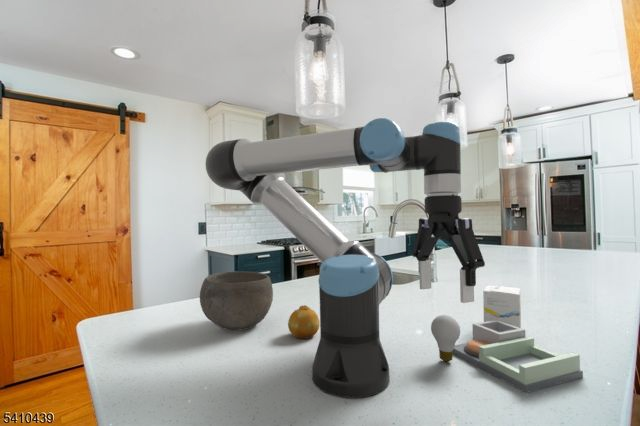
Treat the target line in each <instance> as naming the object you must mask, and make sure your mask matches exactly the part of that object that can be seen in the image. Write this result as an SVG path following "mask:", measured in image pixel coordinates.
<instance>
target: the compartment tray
mask: <svg viewBox="0 0 640 426" xmlns="http://www.w3.org/2000/svg"><path fill="white" fill-rule="evenodd" d="M472 340H481V341H486V342H489V343H491V344H488V345H483V346H479V354H476V353H473V352H471V351H469V350H468V349H467V342H465V343H460V344H455V345H454V349H453V355H455V356H456V357H457V356H458V357H459V358H461V359H463V360H465V361H467V362H469V363H471V365H474V366H476V367H478V368H480V369H481V370H483V371H485V372H487V373H489V374H491V375H493V376H495V377H497V378H498V379H500V380H502V381H503V382H506V383H507V384H509V385H511V386H513V387H515V388H517V389H518V390H520V391H522V392H523V393H530V392H533V391H537V390H542V389H545V388H550V387H553V386H557V385H559V384H563V383H567V382H570V381H575V380H578V379H582V378H584V372H583V370H581V359H580V358H581V357H580V354H579V353H578V354H577V353H575V352H571V353H565V354H562V355H560V354H557V353H556V352H553V351H550V350H547V349H544V348H542V347H540V346H537V345H535V338H534V337H532V336H526V329H523V328H522V327H521V328H519V327H516V326H513V325H510V324H507V323H504V322H501V321H498V320H493V321H487V322H484V321H481V322H477V323H476V322H475V323H472Z"/></svg>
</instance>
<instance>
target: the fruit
mask: <svg viewBox="0 0 640 426" xmlns="http://www.w3.org/2000/svg"><path fill="white" fill-rule="evenodd" d="M287 327H288V330H289V333H291V335H292V336H294V337H295V338H298V339H310V338H311V337H315V335H316V334H317V333H318V331H319V329H320V317H319V315H318V314H317V313H316V311H315V310H313V309H312V308H311V307H309V306H308V305H304V304H303V305H300V306H299V308H298V309H295V310H293V312H291V314H290V316H289V318H288V323H287Z"/></svg>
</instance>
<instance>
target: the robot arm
mask: <svg viewBox="0 0 640 426" xmlns="http://www.w3.org/2000/svg"><path fill="white" fill-rule="evenodd" d="M460 134H461V133H460V127H459V126H458V124H457V123H455V122H453V121H452V122H451V121H437V122H433V123H429V124H426V125H425V126H424V127H423V129H422V134H418V135H415V136H405V134H404V131H403V130H402V128H401V127H400V126H399V125H398V124H397V123H395V121H392V120H391V119H389V118H385V117H380V118H379V117H378V118H374V119H373V120H371V121H369V122H368V123H366V124H365V125H364V126H358V127H353V128H346V129H339V130H332V131H325V132H317V133H309V134H302V135H295V136H287V137H281V138H274V139H267V140H266V139H265V140H259V141H252V142H251V140H249V139H247V138H238V139H231V140H224V141H222V142H221V141H220V142H219V143H217V144H216V145H214V146H212V148H211V149H210V150H209V151H208V153H207V155H206V157H205V170H206V173H207V175H208V177H209V179H210V180H211V181H212V182H213V183H214V184H215V185H216V186H218V187H219V188H222V189H226V190H232V191H240V192H241V193H242V194H243V195H244V196H245V197H246V198H247V199H248V200H250V202H251V203H252V204H254V205H257V206H258V205H263V206H264V207H265V208H266V209H267V210H268V211H269V213H271V215H273V216H274V218H275V219H277V220H278V222H279V223H281V224H282V225H283V227H285V228H286V229H287V230H288V231H289V232H290V233H291V234H292V235H293V236H294V237H295V238H296V239H297V240H298V241H299V242H300V243H301V244H302V245H303V246H304V247H306V249H307V250H308V251H309V252H310V253H311V254H312V255H313V256H314V257H315V258H317V260H318V261H319V262H320V263H321V264H320V267H319V276H318V280H317V281H318V285H319V286H318V288H319V290H318V291H319V329H320V332H319V333H320V338H319V342H318V345H317V348H316V353H315V355H314V358H313V361H312V365H311V371H312V372H311V374H312V375H311V377H312V378H311V379H312V382H313V384H314V385H315V387H317V388H318V389H319V390H320V391H323V392H325V393H327V394H330V395H333V396H336V397H342V398H364V397H371V396H373V395H376V394H378V393H379V394H380V392H382V391H384V390H385V389H386V388H387V387H388V385H389V384H390V365H389V363H388V360H387V357H386V354H385V352H384V348H383V346H382V342H381V338H380V337H381V336H380V304H381V303H382V302H383V301H384V300H385V299H386V297H388V295H389V294H390V292H391V289H392V286H393V281H394V280H393V277H394V276H393V270H392V268H391V266H390V264H389V263H388V262H387V260H385V258H383V256H380V255H379V254H376V253H373V252H371V251H370V250H369V249H368V248H367V247H366V246H364V245H363V244H362V243H361V242H360V241H358V240H349V239H348V238H347V237H345V236H344V235H343V234H342V233H341V231H339V230H338V229H337V228H336V227H335V226H333V225H332V224H331V223H330V222H329V220H327V219H326V218H325V217H324V216H323V215H322V214H321V213H320V212H319V211H317V209H315V208H314V206H312V204H310V203H309V202H308V201H307V200H306V199H305V198H303V196H302V195H300V194H299V193H298V192H297V191H296V190H295V189H294V188H293V187H292V186H291V185H290V184H289V183H287V181H286V175H285V174H288V173H289V174H290V173H296V172H297V173H298V172H309V171H320V170H330V169H338V168H348V167H349V168H350V167H357V166H369V169H370V171H371V172H373V173H390V172H402V171H403V172H405V171H415V170H416V171H420V170H423V194H424V195H426V196H425V198H424V213H425V214H427V215H428V217H421V218H419V219H418V228H417V233H416V238H415V239H414V240H415V241H414V244H413V247H412V248H413V249H412V253H411V256H412V257H413V258H416V260H417V261H418V274H419V275H418V276H419V290H429V289H432V260H431V258H430V256H431V254H432V252H433V250H434V248H435V246H436V244H437V243H438V241H439V240H441V239H443V240H444V239H445V241H447V242H449V244H450V246H451V247H452V250H453V251H454V253H455V255H456V257H457V259H458V260H459V262H460V264H461V268H459V293H460V294H459V295H460V296H459V297H460V303H462V304H466V303H474V302H475V287H476V283H477V279H476V277H477V276H476V275H477V273H476V270H477V269H479V268H483V267H485V266H486V265H485V264H486V263H485V260H484V257H483V254H482V252H481V249H480V246H479V243H478V240H477V238H476V235H475V233H474V230H473V220H472V218H471V217H465V218H464V217H462V218H461V217H460V216H459V214H460V213H462V206H463V205H462V197H461V196H460V195H459V194H460V193H461V192H462V178H461V176H462V175H461V174H462V172H461V171H462V169H461V167H462V166H461V165H462V164H461V162H462V161H461V136H460Z"/></svg>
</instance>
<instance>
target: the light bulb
mask: <svg viewBox="0 0 640 426" xmlns="http://www.w3.org/2000/svg"><path fill="white" fill-rule="evenodd" d="M430 330H431V334H432V336H433V338H434V339H435V341H436V344H437V348H438V351H439V352H438V353H439V355H438V356H439V359H440V360H441V361H443V362H444V363H449V362H451V361H453V358H454V356H453V355H454V353H453V349H454V345H456V342H457V341H458V339H459V338H460V336H461V327H460V325H459V322H458V321H457V320H456V319H455V318H454V317H452V316H451V315H448V314H441V315H438V316H436V317H435V318H434V319H433V320H432V322H431V324H430Z"/></svg>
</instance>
